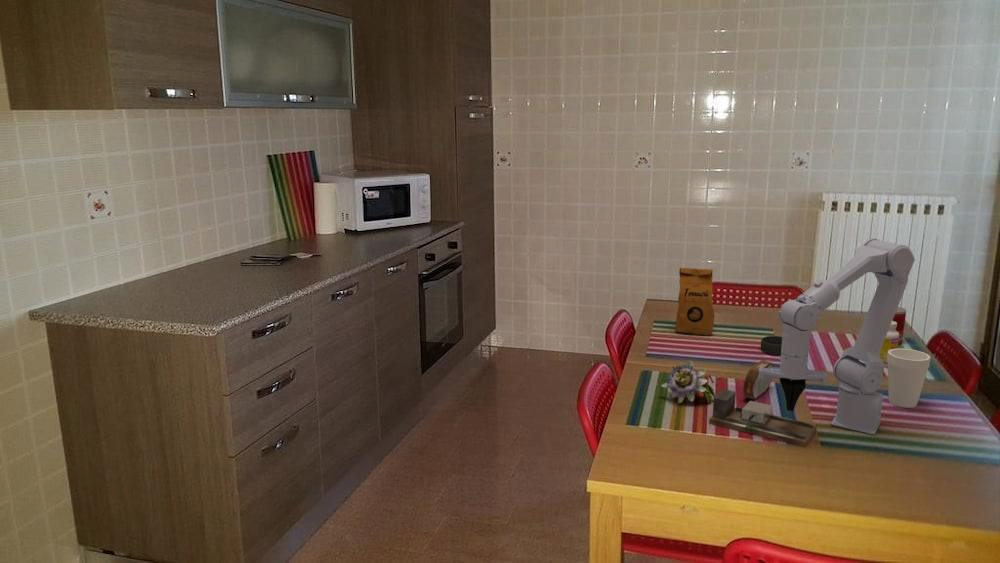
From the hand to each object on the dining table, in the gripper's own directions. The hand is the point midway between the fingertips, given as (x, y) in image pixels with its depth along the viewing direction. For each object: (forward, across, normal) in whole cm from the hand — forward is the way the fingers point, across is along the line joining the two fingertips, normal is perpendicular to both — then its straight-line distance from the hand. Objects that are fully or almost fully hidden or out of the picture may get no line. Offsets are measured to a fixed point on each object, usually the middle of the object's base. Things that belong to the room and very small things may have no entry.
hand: (790, 409), depth 169 cm
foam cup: (+6, -30, -26) cm, 40 cm away
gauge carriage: (+4, +8, -2) cm, 9 cm away
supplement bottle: (+7, -33, -56) cm, 65 cm away
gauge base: (+6, +6, -2) cm, 8 cm away
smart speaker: (+7, -3, -61) cm, 61 cm away
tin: (+6, +5, -23) cm, 25 cm away
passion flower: (+6, +22, -16) cm, 28 cm away
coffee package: (+6, +21, -76) cm, 79 cm away
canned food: (+7, -40, -79) cm, 89 cm away
